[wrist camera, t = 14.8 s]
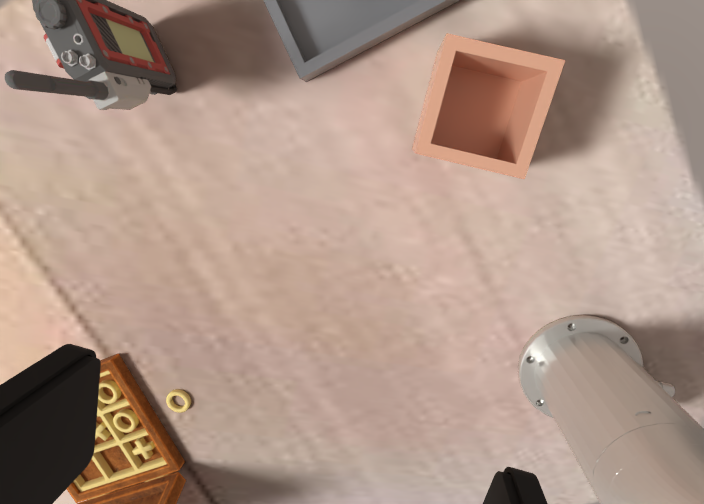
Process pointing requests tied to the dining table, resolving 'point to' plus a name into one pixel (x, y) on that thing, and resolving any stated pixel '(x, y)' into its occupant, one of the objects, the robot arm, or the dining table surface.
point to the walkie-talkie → (99, 54)
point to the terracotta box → (486, 105)
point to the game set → (130, 446)
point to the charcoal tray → (342, 27)
